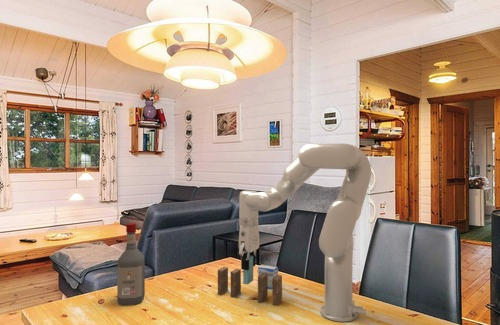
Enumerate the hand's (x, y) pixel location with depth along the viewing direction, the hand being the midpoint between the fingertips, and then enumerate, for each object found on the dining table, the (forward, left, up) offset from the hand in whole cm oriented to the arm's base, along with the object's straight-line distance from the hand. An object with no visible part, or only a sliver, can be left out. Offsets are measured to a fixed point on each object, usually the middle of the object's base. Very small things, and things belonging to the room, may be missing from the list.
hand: (248, 267), depth 136 cm
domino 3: (0, 0, -6) cm, 6 cm away
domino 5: (-12, 0, -12) cm, 17 cm away
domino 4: (-6, 0, -12) cm, 14 cm away
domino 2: (+6, 0, -12) cm, 13 cm away
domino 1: (+12, 0, -12) cm, 17 cm away
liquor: (+40, +22, -12) cm, 47 cm away
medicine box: (-2, -15, -12) cm, 19 cm away
